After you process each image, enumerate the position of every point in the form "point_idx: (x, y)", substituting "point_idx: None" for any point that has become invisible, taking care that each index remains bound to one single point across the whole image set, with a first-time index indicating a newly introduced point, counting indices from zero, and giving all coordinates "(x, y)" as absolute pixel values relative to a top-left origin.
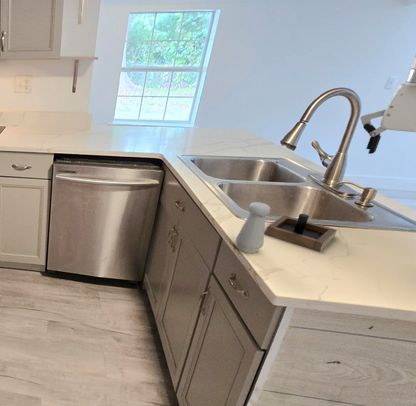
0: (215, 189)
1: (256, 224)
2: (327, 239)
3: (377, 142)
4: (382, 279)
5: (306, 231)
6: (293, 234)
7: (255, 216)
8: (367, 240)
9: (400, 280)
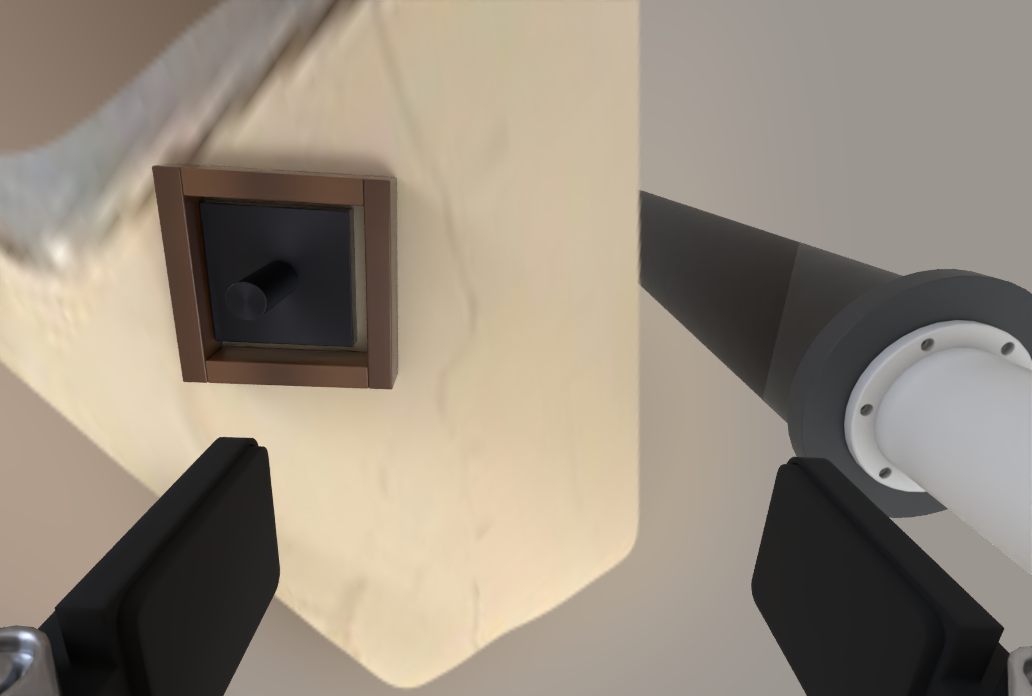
0: None
1: None
2: (392, 326)
3: (209, 648)
4: (580, 435)
5: (301, 249)
6: (287, 384)
7: None
8: (502, 87)
9: (620, 402)
